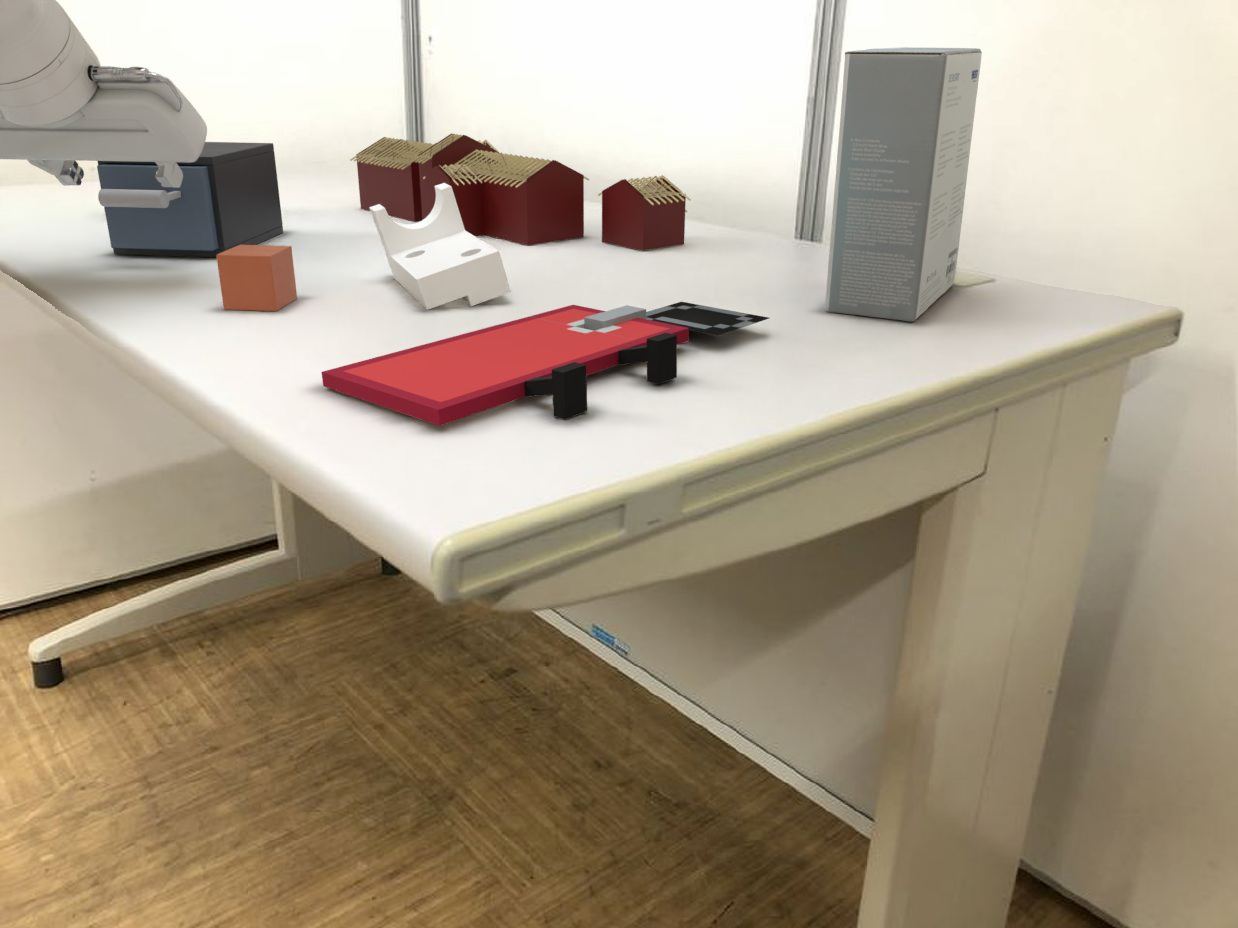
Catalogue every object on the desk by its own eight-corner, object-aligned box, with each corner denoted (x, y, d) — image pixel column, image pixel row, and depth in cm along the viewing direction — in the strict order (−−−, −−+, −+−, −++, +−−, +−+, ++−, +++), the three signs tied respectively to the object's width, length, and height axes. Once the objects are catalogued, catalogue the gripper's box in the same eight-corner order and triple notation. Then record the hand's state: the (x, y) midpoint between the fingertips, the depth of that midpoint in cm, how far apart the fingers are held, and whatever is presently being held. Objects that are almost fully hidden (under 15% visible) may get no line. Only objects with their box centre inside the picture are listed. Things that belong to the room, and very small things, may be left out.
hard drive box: (870, 277, 96) (895, 47, 88) (954, 286, 92) (987, 48, 85) (820, 312, 83) (844, 47, 75) (916, 324, 80) (950, 48, 72)
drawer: (192, 259, 96) (179, 173, 93) (86, 256, 97) (70, 171, 94) (269, 227, 112) (260, 153, 109) (177, 225, 113) (166, 152, 110)
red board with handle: (791, 334, 75) (636, 304, 84) (793, 296, 74) (636, 270, 83) (485, 449, 55) (324, 393, 64) (482, 399, 53) (318, 349, 63)
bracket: (397, 287, 94) (369, 207, 90) (469, 262, 96) (444, 183, 92) (430, 320, 83) (400, 231, 79) (510, 291, 85) (484, 202, 81)
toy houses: (341, 210, 130) (333, 126, 126) (476, 196, 142) (473, 120, 138) (563, 266, 99) (562, 157, 95) (711, 242, 111) (715, 145, 107)
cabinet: (226, 257, 101) (212, 157, 97) (113, 254, 102) (95, 154, 98) (283, 232, 115) (273, 143, 111) (184, 230, 115) (170, 141, 112)
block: (223, 309, 82) (215, 254, 80) (246, 297, 86) (239, 244, 84) (276, 311, 81) (270, 256, 80) (297, 298, 86) (291, 245, 84)
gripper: (172, 38, 81) (242, 154, 93) (-72, 36, 82) (29, 151, 95) (152, 101, 78) (227, 211, 91) (-99, 98, 80) (9, 207, 93)
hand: (124, 180), depth 93 cm, fingers open, 8 cm apart
